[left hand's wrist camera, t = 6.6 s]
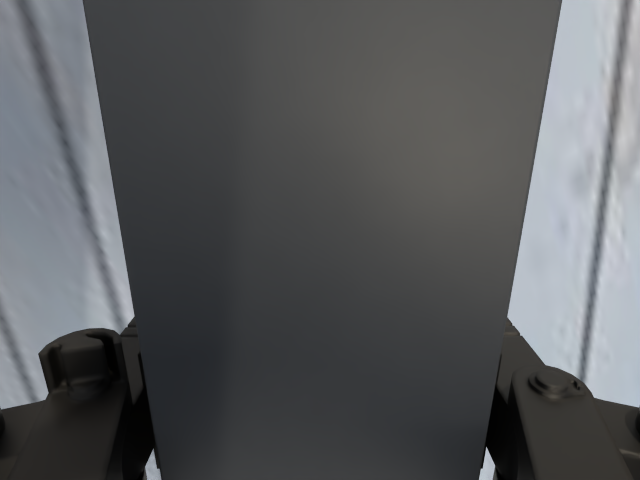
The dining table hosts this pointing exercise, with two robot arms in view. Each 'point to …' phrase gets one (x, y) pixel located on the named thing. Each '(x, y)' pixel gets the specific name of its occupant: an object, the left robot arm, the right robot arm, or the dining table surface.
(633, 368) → the dining table surface
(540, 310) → the dining table surface
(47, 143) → the dining table surface
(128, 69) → the post
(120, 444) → the left robot arm
